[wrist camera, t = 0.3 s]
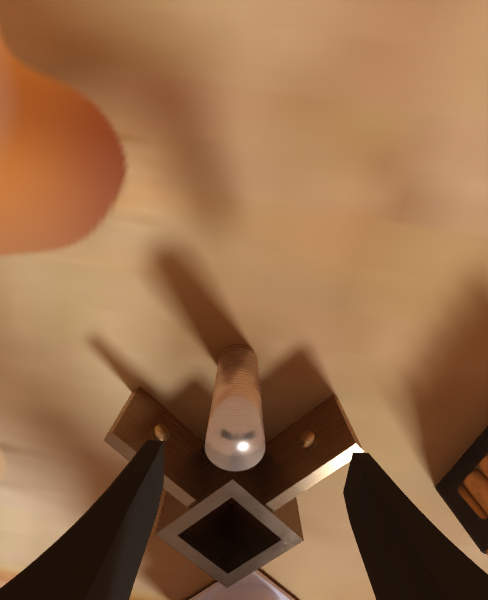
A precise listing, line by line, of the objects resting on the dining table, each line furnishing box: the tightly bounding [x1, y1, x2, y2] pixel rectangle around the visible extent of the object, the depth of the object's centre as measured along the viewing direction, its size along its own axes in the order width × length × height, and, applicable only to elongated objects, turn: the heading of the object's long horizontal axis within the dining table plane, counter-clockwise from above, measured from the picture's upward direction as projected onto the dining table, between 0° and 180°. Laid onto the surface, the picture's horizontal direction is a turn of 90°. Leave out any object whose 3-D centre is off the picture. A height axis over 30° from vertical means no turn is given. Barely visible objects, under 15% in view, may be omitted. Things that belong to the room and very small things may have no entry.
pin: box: [205, 345, 265, 471], centre depth 18 cm, size 3×3×8 cm
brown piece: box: [104, 386, 364, 588], centre depth 21 cm, size 14×14×5 cm
